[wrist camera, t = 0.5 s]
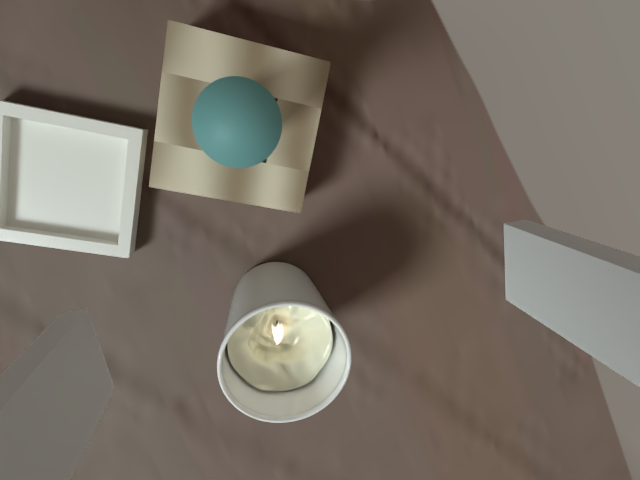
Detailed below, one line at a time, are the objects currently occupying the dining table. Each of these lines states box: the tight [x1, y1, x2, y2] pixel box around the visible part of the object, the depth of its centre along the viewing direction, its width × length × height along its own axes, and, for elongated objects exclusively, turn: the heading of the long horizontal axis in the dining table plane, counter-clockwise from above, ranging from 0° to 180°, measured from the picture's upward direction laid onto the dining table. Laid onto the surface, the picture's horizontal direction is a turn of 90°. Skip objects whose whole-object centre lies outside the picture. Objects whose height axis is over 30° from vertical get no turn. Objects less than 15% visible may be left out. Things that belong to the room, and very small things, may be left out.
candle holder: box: [217, 262, 351, 423], centre depth 36 cm, size 10×10×12 cm
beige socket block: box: [149, 20, 331, 213], centre depth 34 cm, size 12×12×5 cm
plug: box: [192, 76, 282, 168], centre depth 29 cm, size 5×5×14 cm
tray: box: [0, 100, 148, 258], centre depth 35 cm, size 11×11×2 cm
